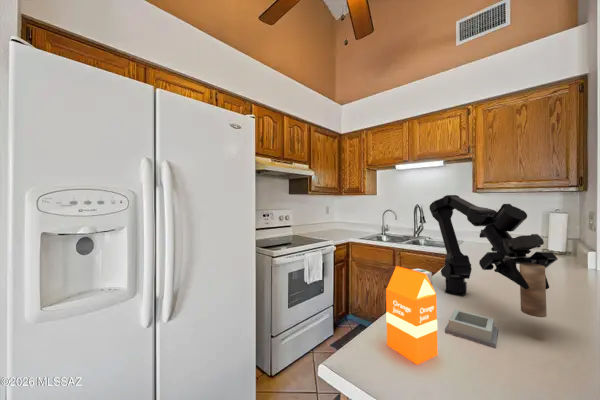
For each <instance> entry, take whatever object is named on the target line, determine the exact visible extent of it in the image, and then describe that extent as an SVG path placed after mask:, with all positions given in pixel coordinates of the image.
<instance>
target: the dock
mask: <svg viewBox="0 0 600 400" xmlns="http://www.w3.org/2000/svg"><path fill="white" fill-rule="evenodd" d="M445 333H446V334H448V335H451V336H455V337H459V338H461V339H464V340H468V341H471V342H475V343H477V344H481V345H484V346H487V347H490V348H494V349H496V348H497V340H498V333H499V327H498V326H495V318H493V317H488V316H485V315H481V314H477V313H473V312H469V311H464V310H461V309H456V308H454V310H453V312H452V313H451V315H450V317H449V319H448V323H447V325H446V327H445V329H444V334H445Z"/></svg>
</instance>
